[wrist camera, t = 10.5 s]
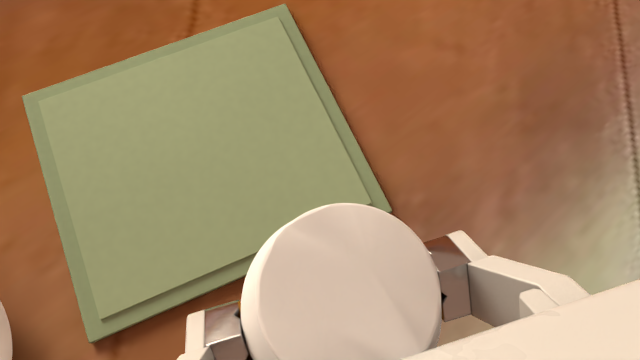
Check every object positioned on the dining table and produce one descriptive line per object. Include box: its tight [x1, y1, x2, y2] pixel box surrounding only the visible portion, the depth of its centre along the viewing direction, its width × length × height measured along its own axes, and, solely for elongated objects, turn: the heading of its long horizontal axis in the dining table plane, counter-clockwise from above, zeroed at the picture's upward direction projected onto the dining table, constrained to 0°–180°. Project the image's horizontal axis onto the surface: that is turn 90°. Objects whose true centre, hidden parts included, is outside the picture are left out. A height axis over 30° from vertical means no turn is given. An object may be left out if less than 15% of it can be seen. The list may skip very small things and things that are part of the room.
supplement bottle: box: [241, 203, 442, 360], centre depth 15 cm, size 5×5×10 cm
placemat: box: [22, 4, 392, 343], centre depth 33 cm, size 20×18×1 cm
